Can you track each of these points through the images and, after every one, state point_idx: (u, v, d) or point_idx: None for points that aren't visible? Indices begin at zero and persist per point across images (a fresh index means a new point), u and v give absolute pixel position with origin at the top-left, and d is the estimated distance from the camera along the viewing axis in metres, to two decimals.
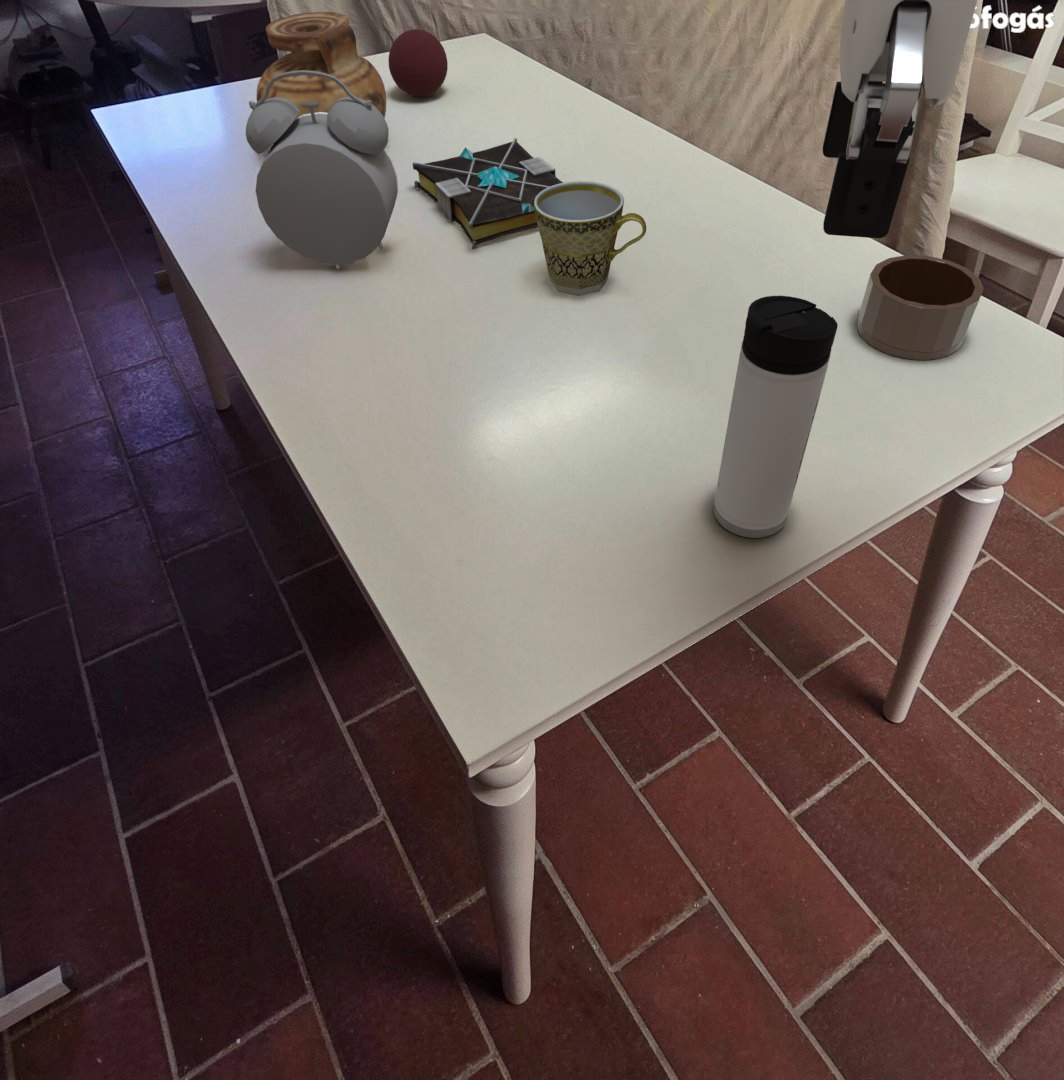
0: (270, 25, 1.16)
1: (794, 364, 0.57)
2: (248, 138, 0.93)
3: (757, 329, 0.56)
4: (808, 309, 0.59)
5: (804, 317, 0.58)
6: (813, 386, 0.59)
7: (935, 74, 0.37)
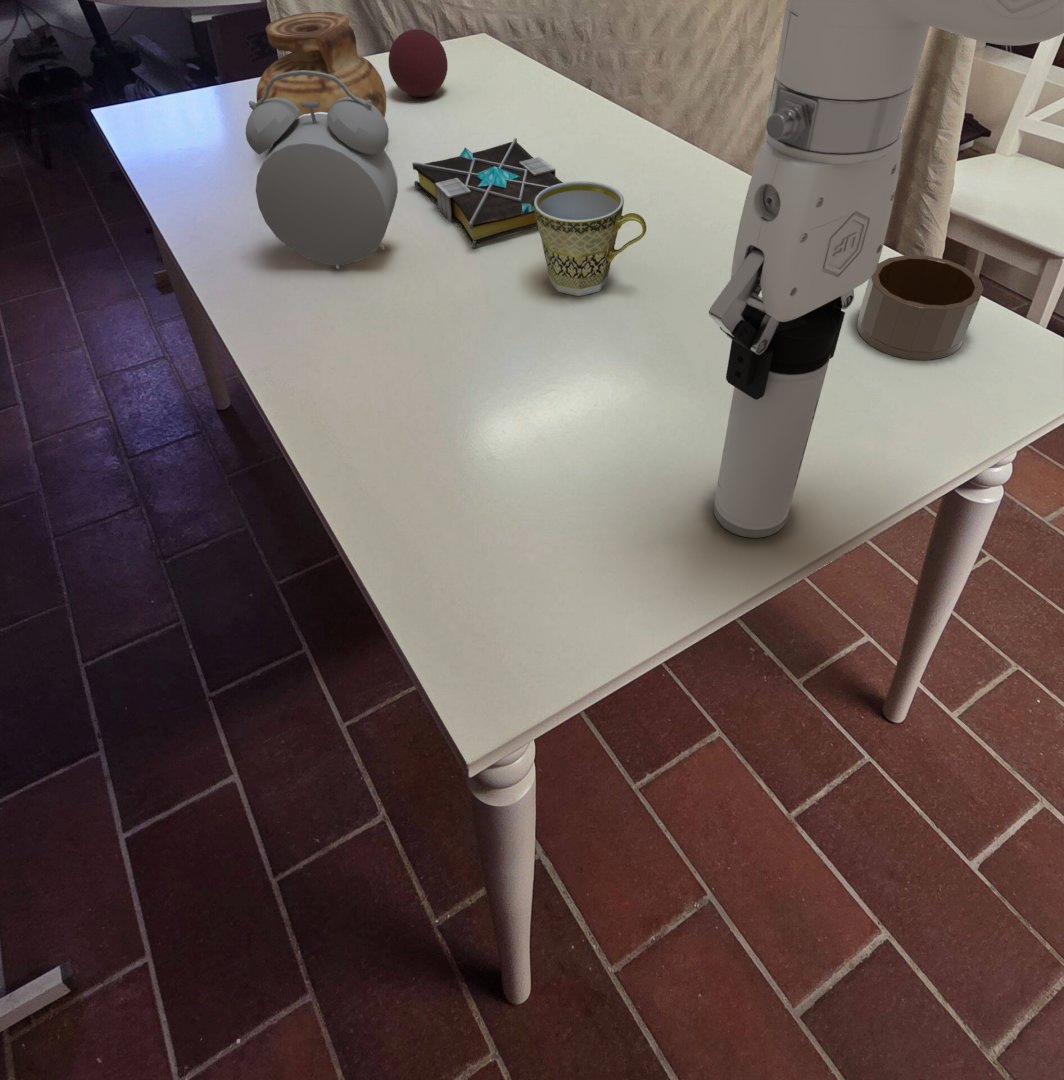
0: (270, 25, 1.16)
1: (794, 364, 0.57)
2: (248, 138, 0.93)
3: (757, 329, 0.56)
4: None
5: (804, 317, 0.58)
6: (813, 385, 0.59)
7: (768, 300, 0.52)
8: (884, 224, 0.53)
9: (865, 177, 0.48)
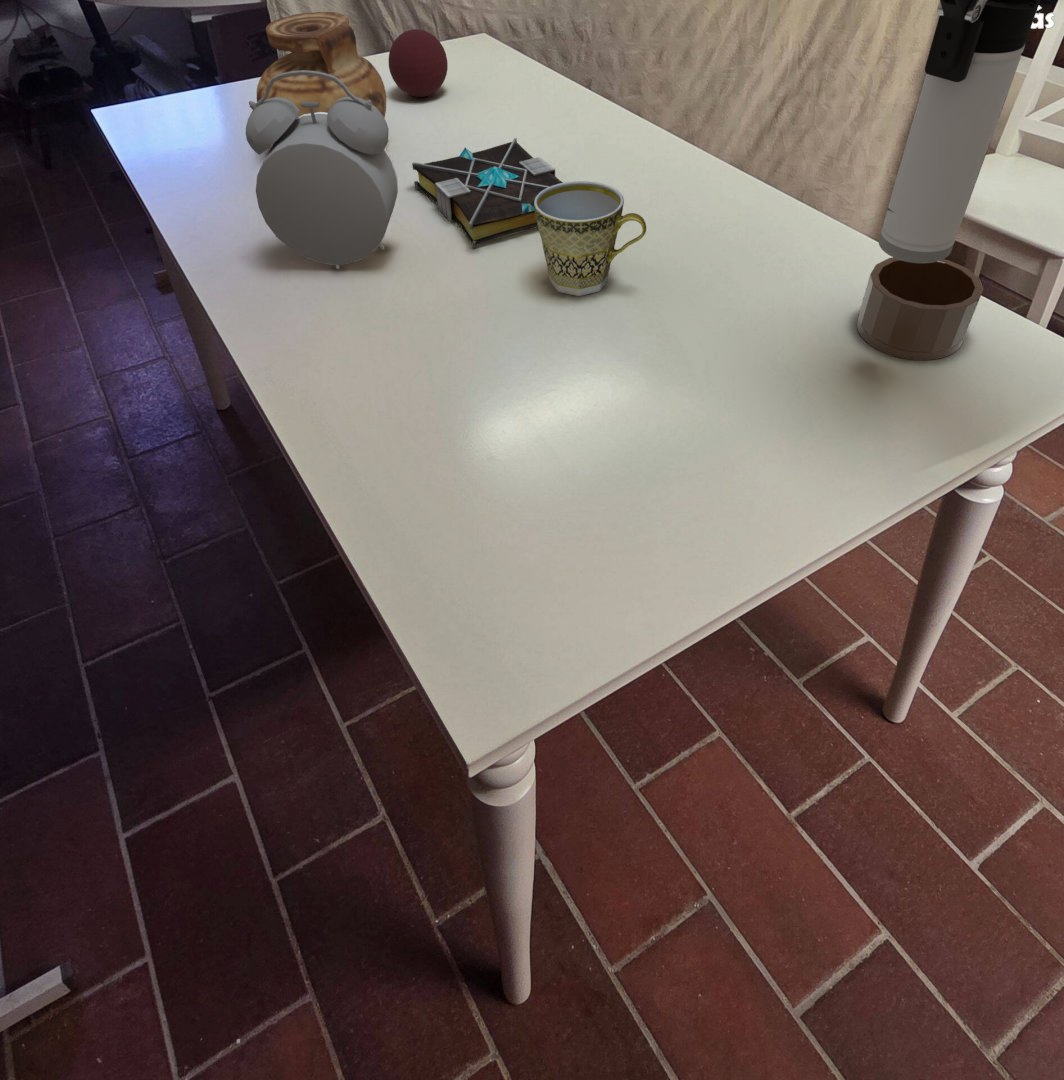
0: (270, 25, 1.16)
1: (997, 41, 0.60)
2: (248, 138, 0.93)
3: None
4: (1003, 0, 0.62)
5: None
6: (1010, 70, 0.62)
7: None
8: None
9: None
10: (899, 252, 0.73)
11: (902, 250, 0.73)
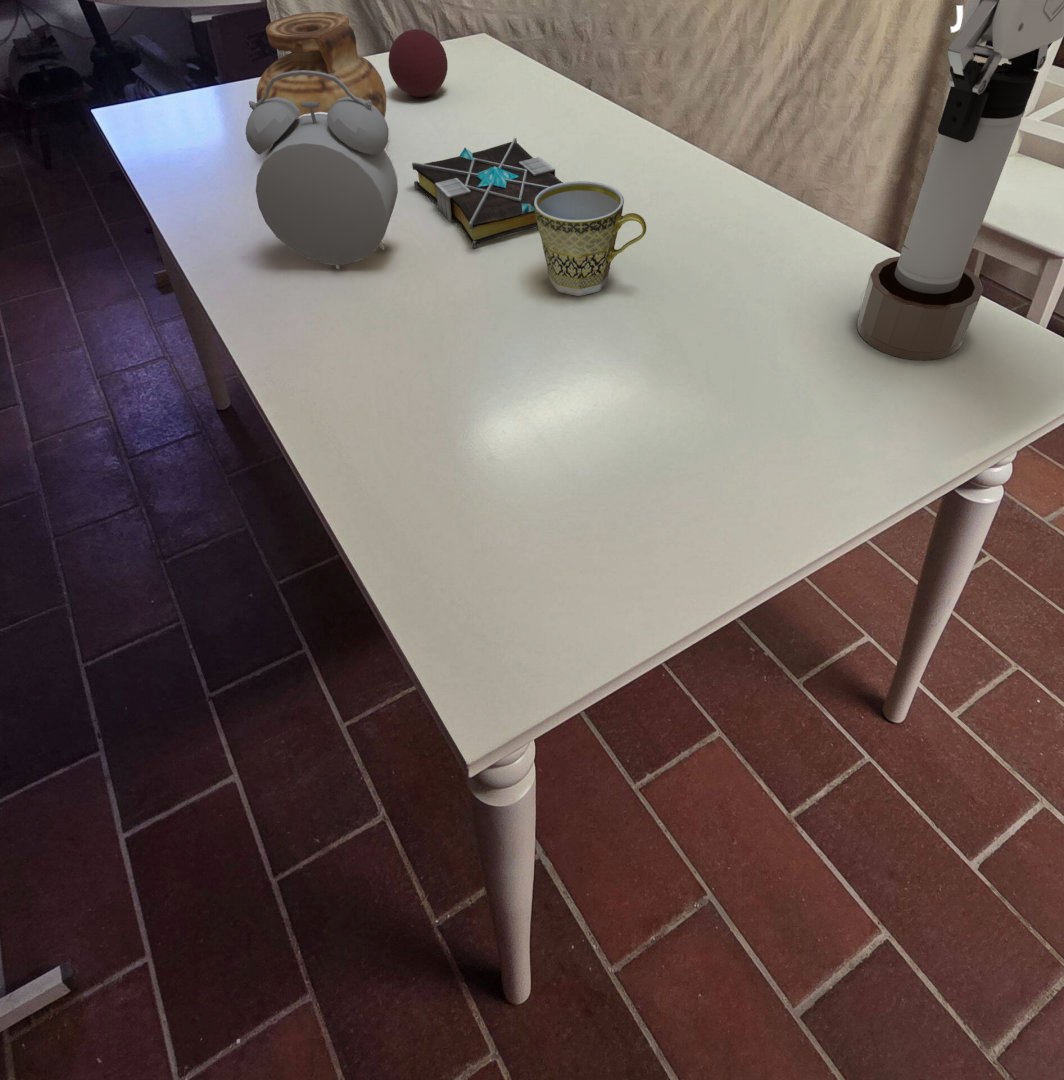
0: (270, 25, 1.16)
1: (1001, 108, 0.70)
2: (248, 138, 0.93)
3: None
4: (1006, 71, 0.72)
5: (1005, 76, 0.72)
6: (1011, 132, 0.72)
7: (998, 36, 0.65)
8: None
9: None
10: (913, 284, 0.83)
11: (915, 282, 0.83)
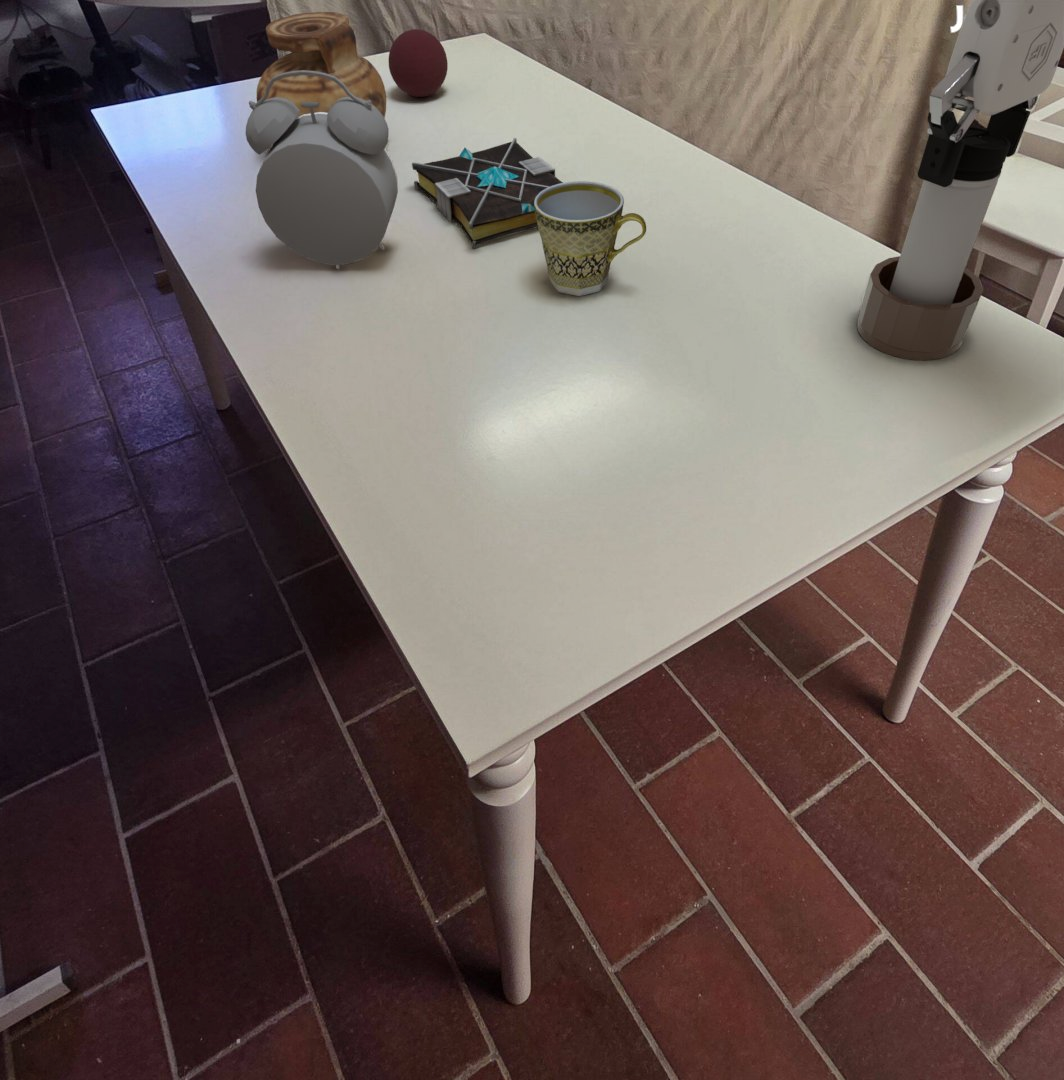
0: (270, 25, 1.16)
1: (977, 172, 0.74)
2: (248, 138, 0.93)
3: None
4: (983, 134, 0.76)
5: (981, 139, 0.75)
6: (988, 193, 0.76)
7: (979, 95, 0.68)
8: (1063, 41, 0.69)
9: None
10: None
11: None
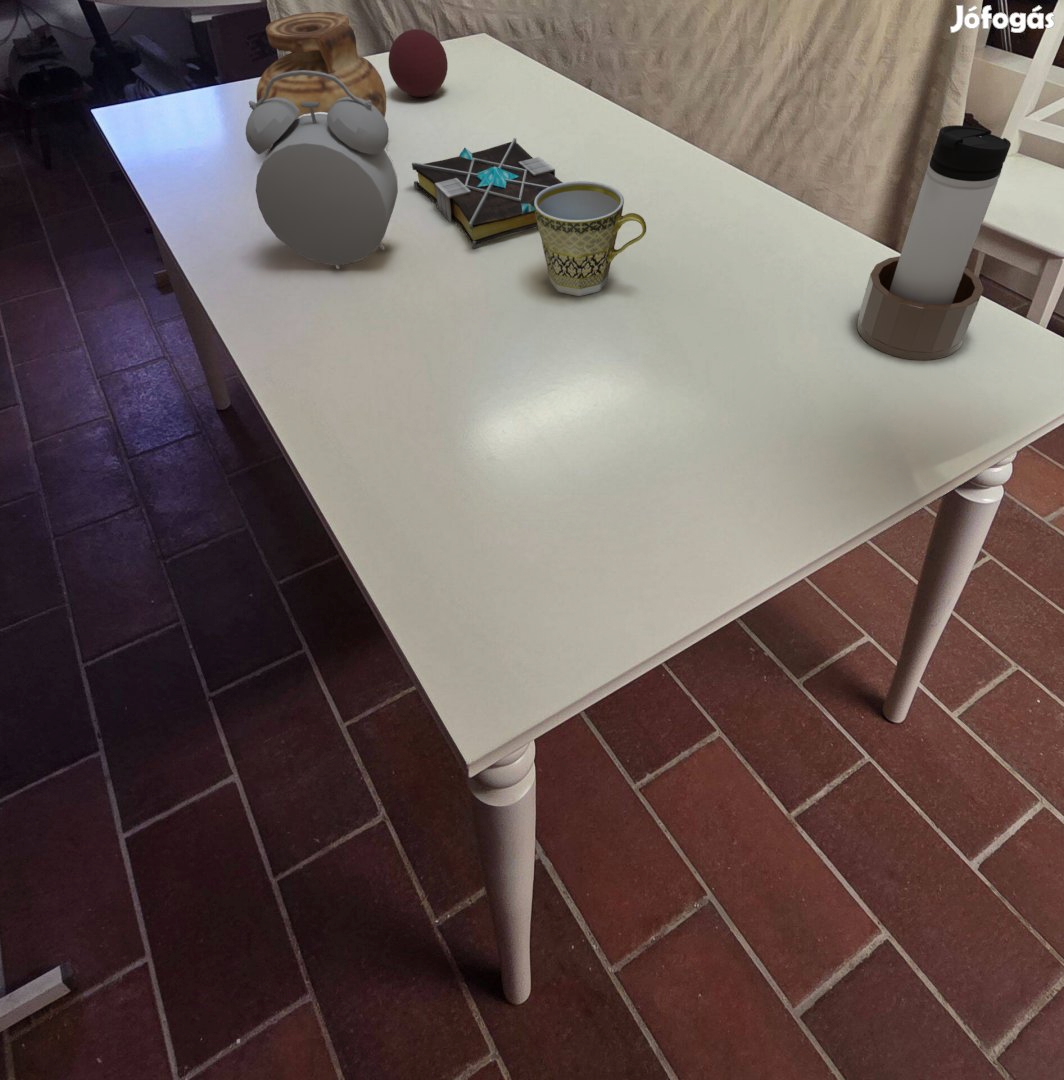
0: (270, 25, 1.16)
1: (977, 172, 0.74)
2: (248, 138, 0.93)
3: (951, 143, 0.73)
4: (983, 134, 0.76)
5: (981, 139, 0.75)
6: (988, 193, 0.76)
7: None
8: None
9: None
10: None
11: None
